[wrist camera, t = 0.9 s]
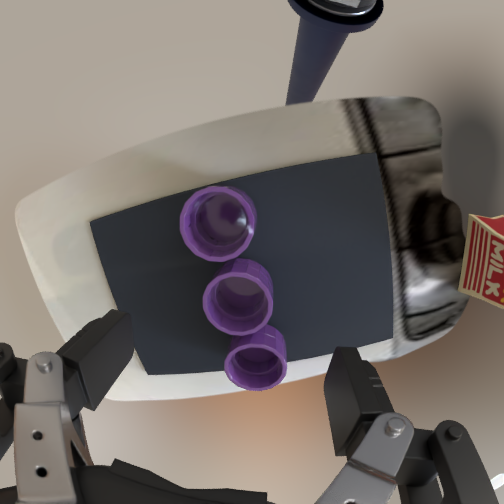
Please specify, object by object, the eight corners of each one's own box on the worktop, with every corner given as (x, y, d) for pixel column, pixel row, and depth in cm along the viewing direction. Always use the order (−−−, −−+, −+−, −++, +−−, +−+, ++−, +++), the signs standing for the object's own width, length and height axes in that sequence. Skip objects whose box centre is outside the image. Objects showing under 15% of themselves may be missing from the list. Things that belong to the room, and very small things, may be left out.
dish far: (244, 311, 28) (239, 334, 23) (295, 332, 28) (298, 358, 24) (222, 351, 29) (215, 377, 25) (270, 371, 30) (269, 397, 25)
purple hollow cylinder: (209, 175, 24) (196, 174, 20) (268, 201, 25) (267, 206, 20) (185, 231, 26) (169, 242, 22) (241, 257, 26) (234, 273, 22)
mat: (374, 152, 23) (376, 152, 23) (391, 336, 28) (393, 338, 27) (91, 221, 27) (89, 222, 26) (149, 373, 32) (147, 375, 31)
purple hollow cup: (227, 246, 26) (218, 260, 22) (283, 272, 26) (285, 291, 22) (204, 297, 28) (193, 317, 23) (256, 320, 28) (254, 345, 24)
